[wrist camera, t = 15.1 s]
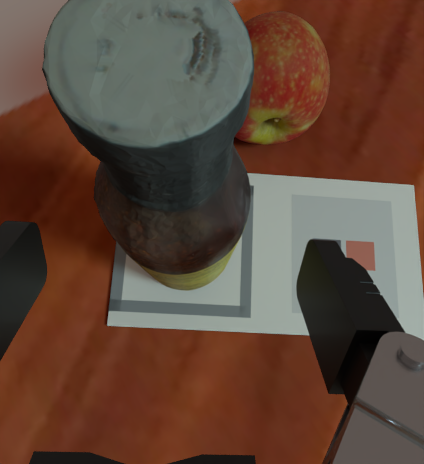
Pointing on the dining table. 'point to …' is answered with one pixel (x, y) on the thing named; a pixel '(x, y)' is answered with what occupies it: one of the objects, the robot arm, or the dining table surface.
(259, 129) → the apple
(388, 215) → the mat
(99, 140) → the sauce bottle
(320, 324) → the robot arm
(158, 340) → the dining table surface
